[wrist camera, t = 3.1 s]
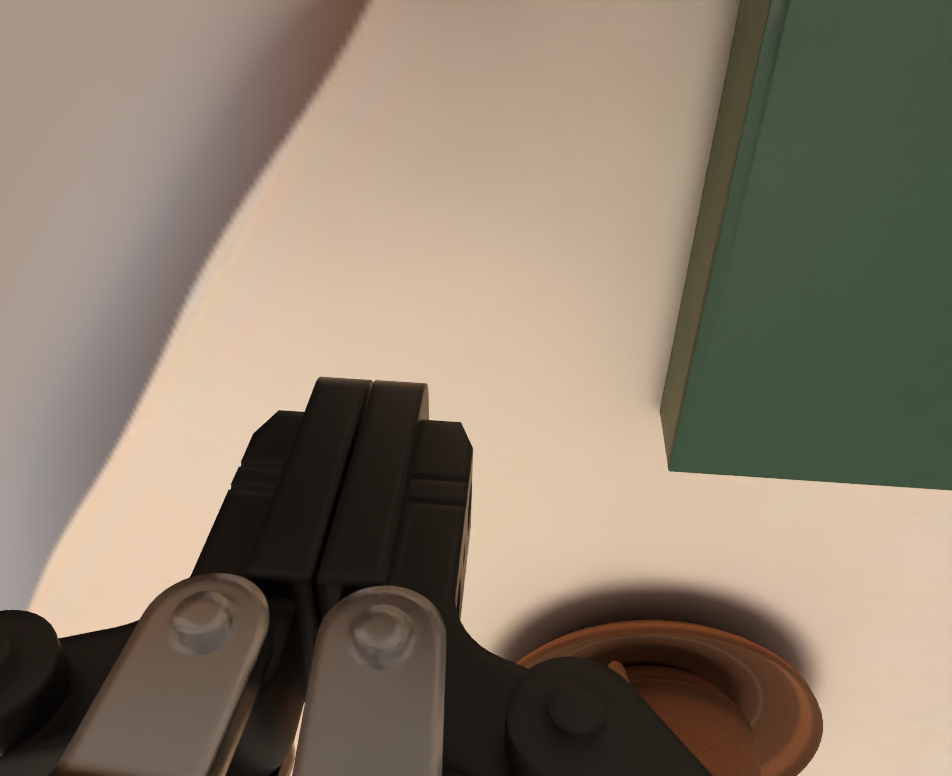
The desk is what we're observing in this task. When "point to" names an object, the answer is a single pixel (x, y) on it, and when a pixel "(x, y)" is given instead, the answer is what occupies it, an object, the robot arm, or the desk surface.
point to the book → (823, 253)
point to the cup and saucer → (708, 691)
